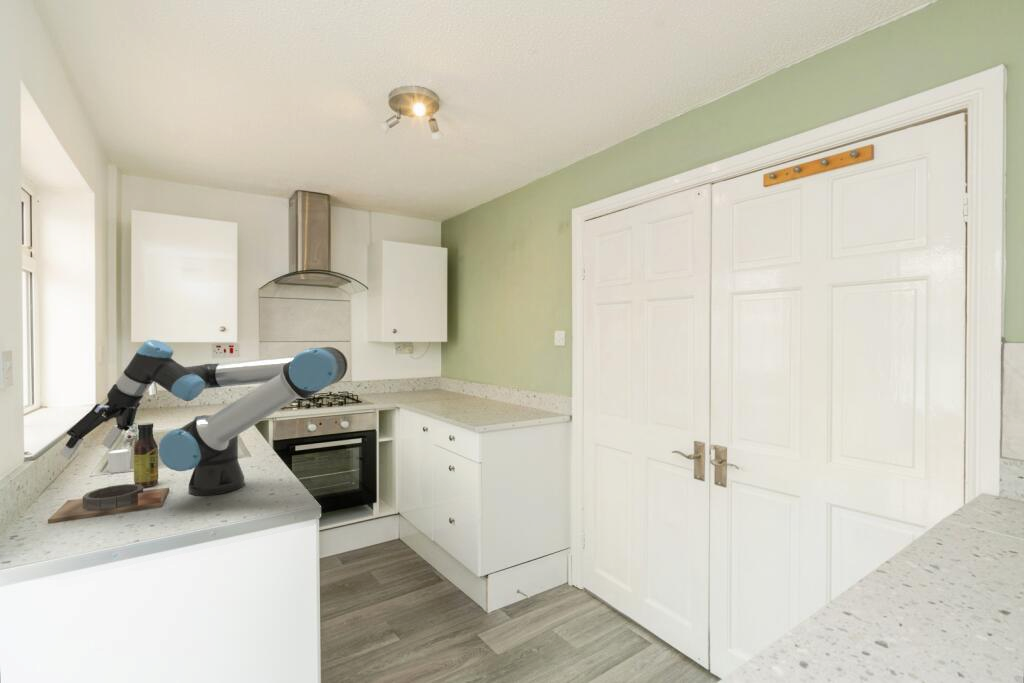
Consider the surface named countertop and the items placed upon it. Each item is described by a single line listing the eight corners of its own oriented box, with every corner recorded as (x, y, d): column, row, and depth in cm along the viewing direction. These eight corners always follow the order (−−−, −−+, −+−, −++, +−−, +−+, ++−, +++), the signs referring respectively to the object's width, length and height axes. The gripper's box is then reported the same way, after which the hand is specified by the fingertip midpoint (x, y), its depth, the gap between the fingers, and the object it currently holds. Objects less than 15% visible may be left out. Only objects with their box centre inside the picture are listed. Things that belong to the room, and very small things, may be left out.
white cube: (101, 472, 171) (101, 452, 171) (121, 467, 178) (121, 448, 178) (117, 474, 169) (116, 453, 169) (136, 468, 176) (136, 449, 176)
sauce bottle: (155, 487, 155) (153, 424, 154) (131, 489, 153) (129, 426, 152) (161, 481, 161) (160, 421, 161) (138, 483, 159) (136, 422, 158)
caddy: (169, 490, 152) (169, 477, 152) (161, 507, 138) (161, 492, 138) (67, 503, 140) (67, 490, 140) (48, 523, 126) (47, 507, 126)
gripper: (150, 378, 152) (110, 435, 151) (80, 385, 127) (32, 453, 126) (170, 392, 152) (130, 448, 151) (104, 401, 127) (57, 469, 126)
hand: (86, 451), depth 139 cm, fingers open, 13 cm apart
